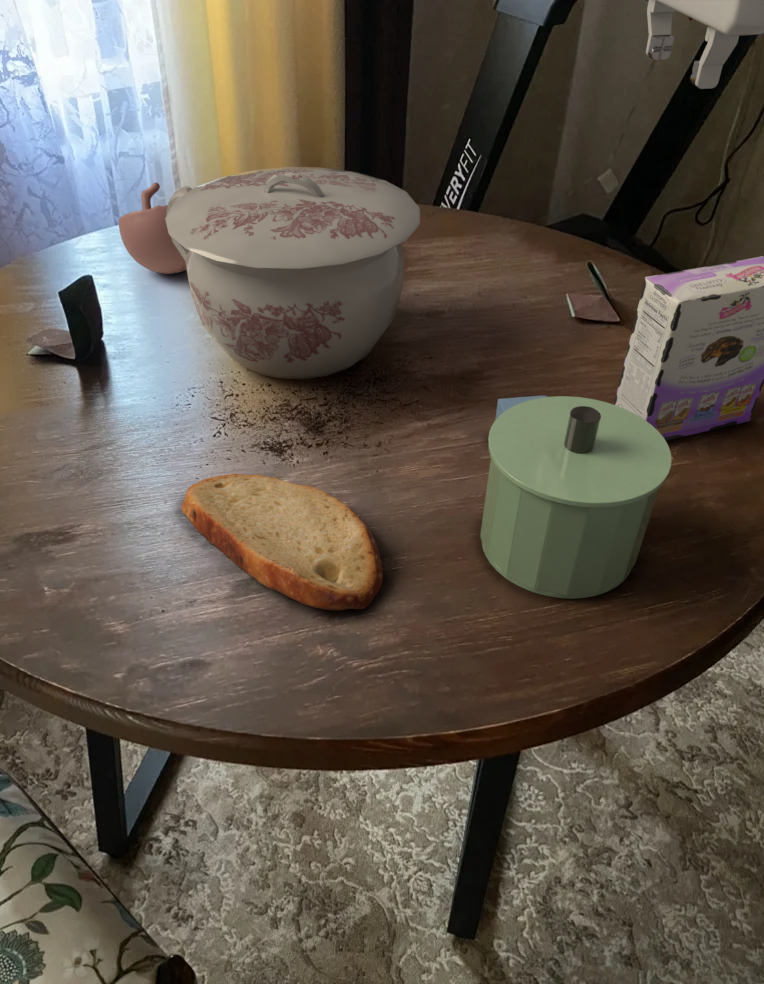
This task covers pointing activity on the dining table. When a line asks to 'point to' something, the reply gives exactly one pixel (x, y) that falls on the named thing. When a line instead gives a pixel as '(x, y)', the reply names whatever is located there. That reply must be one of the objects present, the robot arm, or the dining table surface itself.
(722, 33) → the robot arm
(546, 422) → the pot lid
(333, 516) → the bread slice
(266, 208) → the chamber pot
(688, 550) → the dining table surface
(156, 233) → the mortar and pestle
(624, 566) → the pot
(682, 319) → the candy box
